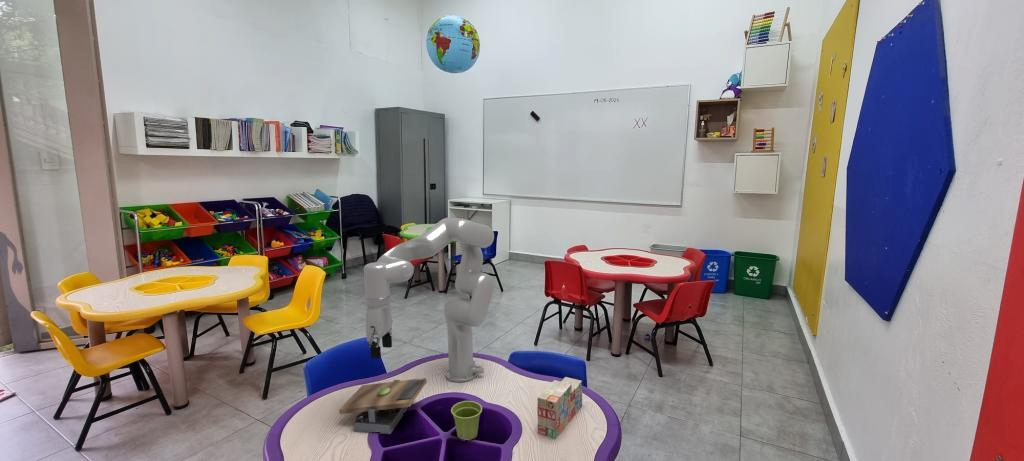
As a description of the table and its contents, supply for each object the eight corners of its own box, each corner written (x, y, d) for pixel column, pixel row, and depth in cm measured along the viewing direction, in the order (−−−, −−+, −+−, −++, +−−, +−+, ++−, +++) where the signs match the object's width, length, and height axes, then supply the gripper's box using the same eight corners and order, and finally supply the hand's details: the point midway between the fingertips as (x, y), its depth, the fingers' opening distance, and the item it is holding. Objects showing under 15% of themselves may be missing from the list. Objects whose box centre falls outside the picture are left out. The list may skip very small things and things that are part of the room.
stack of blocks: (565, 401, 156) (565, 368, 154) (582, 406, 153) (582, 372, 151) (537, 433, 138) (537, 396, 136) (555, 439, 135) (555, 401, 133)
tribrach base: (414, 398, 159) (413, 380, 158) (390, 434, 139) (388, 413, 138) (382, 396, 161) (381, 378, 160) (354, 431, 140) (352, 410, 139)
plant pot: (484, 426, 142) (483, 400, 141) (481, 444, 133) (480, 417, 131) (454, 426, 142) (453, 400, 141) (449, 444, 133) (448, 417, 132)
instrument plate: (427, 384, 155) (425, 375, 154) (410, 409, 139) (408, 399, 139) (364, 391, 159) (361, 382, 158) (340, 417, 143) (338, 407, 143)
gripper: (379, 292, 153) (382, 341, 156) (354, 309, 136) (358, 363, 139) (400, 293, 152) (403, 342, 154) (377, 310, 135) (381, 365, 137)
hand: (381, 352), depth 146 cm, fingers open, 7 cm apart
